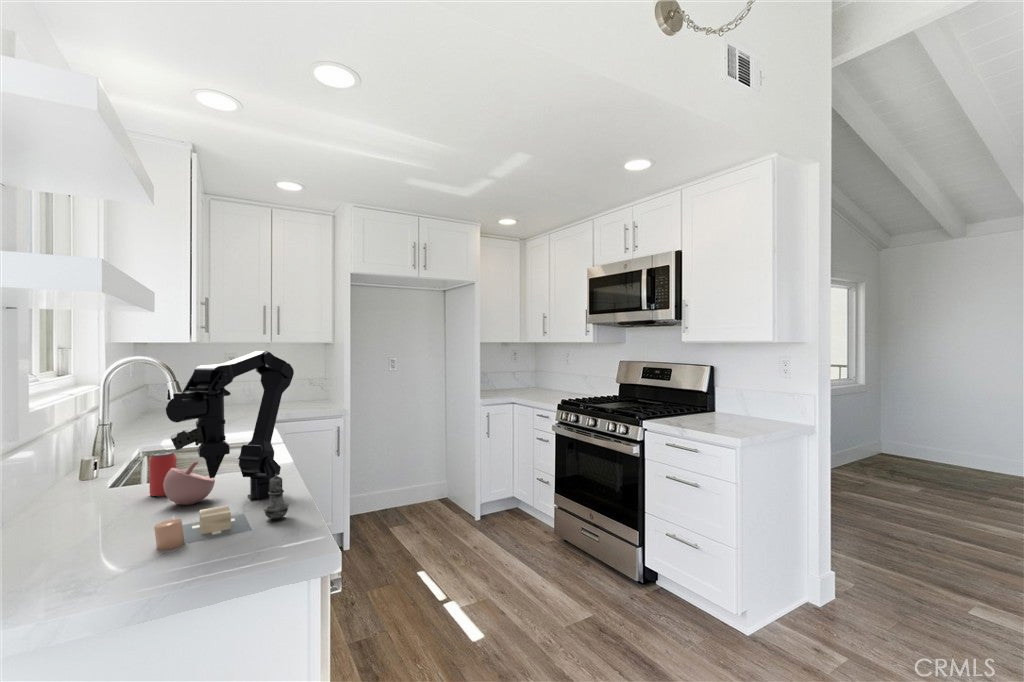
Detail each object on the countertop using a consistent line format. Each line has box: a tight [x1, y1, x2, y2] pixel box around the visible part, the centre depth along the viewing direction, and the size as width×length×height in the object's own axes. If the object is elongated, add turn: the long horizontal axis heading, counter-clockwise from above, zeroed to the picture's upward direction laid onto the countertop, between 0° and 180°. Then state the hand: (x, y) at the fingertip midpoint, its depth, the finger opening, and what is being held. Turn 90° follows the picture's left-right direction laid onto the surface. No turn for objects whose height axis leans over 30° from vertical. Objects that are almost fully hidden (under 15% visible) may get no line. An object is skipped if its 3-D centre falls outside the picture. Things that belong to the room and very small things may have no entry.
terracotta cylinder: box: [153, 518, 185, 551], centre depth 111 cm, size 5×5×5 cm
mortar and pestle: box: [163, 460, 216, 506], centre depth 141 cm, size 12×12×12 cm
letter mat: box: [182, 513, 253, 545], centre depth 122 cm, size 14×14×1 cm
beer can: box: [148, 450, 178, 497], centre depth 150 cm, size 7×7×12 cm
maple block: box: [198, 504, 232, 535], centre depth 121 cm, size 6×6×4 cm
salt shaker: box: [263, 474, 290, 524], centre depth 127 cm, size 6×6×12 cm
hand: (212, 477), depth 128 cm, fingers closed
